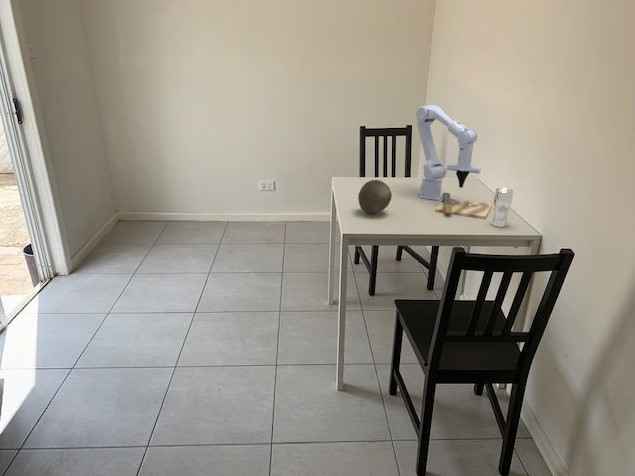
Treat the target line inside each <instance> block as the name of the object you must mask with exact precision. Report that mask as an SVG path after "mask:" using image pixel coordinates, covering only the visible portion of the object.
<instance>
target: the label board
mask: <svg viewBox="0 0 635 476" xmlns="http://www.w3.org/2000/svg"><path fill="white" fill-rule="evenodd" d="M450 199H451V202H452V205H453V207H452V212H446V211H445V206H444V202H443V200H442V199H441V201H440V202H439V204H438V205H437V206H436V207H435V209H434V212H436V213H443V214H449V215H456V216H463V217H469V218H474V219H482V220H486V219H487V218H488V215H489V213H490V210H491V208H492V206H493V204H492V203H486V202H485V203H484V202H478V201H470V200H463V199H457V198H456V199H455V198H450Z"/></svg>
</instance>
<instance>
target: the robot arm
mask: <svg viewBox="0 0 635 476" xmlns="http://www.w3.org/2000/svg"><path fill="white" fill-rule="evenodd" d="M415 116H416V120H417V129H418V133H419V134H418V135H419V137H420V140H421V141H420V142H421V145H422V146H421V147H422V149H423V152H424V157H425V163H424V164H423V167H422V168H423V176H424V178H422V179H421V183H420V193H419V198H420V199H427V200H433V201H434V200H435V201H440V199H442V197H443V194H441V192H442V183H443V179H444V177H446V174H447V171H454V172H455V171H456V172H455V175H456V177H457V181H458V187H459V188H463V187H464V184H465V181H466V179H467V178H468V176H469V174H470V173H472V174H477V175H480V174H481V168H478V167H472V166H471V164H472V155H473V150H474V143H476V141H477V140H478V135H477V131H475V130H474V129H469V128H468V126H465V125H464V124H462V122H461V120H453V119H452V118H451V117H449V116H448V114H446V113H445V112H444V111H443V110H442V107H441V106H439V105H438V104H430V105H421V106H419V107H418V108H417V110H416V112H415ZM436 120H437V121H438V122H439V123H441V124H442V125H445V126H446V128H447V130H448V132H449V133H450V134H451V135H453V136H454V137H455V138H456V139H457V143H458V148H459V149H458V156H457V163H456V164H457V165H453V164H452V165H450V164H447V166H446V167H445V166H444V162H443V161H442V160H441V159H439V157H438V153H437V150H436V146H435V141H434V138H433V137H434V136H433V134H432V130H431V126H432V124H433V123H434V122H435V121H436Z"/></svg>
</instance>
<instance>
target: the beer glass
mask: <svg viewBox="0 0 635 476" xmlns="http://www.w3.org/2000/svg"><path fill="white" fill-rule="evenodd" d="M513 196H514V190H513V189H511V188H507V187H498V188H496V189H495V193H494V197H493V198H494V199H493V218H492V220H491V225H492V226H494V227H498V228H504V227H507V226H508V215H509V212H510V210H511V207H512V204H513V198H514V197H513Z"/></svg>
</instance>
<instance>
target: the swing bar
mask: <svg viewBox="0 0 635 476" xmlns="http://www.w3.org/2000/svg"><path fill="white" fill-rule="evenodd" d="M451 199H452V198H451V194H450V193H449V192H443V193H442V197H441V201H442V200H443V202H444V206H445V211H446V212H452V207H453V205H452V202H451Z"/></svg>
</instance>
